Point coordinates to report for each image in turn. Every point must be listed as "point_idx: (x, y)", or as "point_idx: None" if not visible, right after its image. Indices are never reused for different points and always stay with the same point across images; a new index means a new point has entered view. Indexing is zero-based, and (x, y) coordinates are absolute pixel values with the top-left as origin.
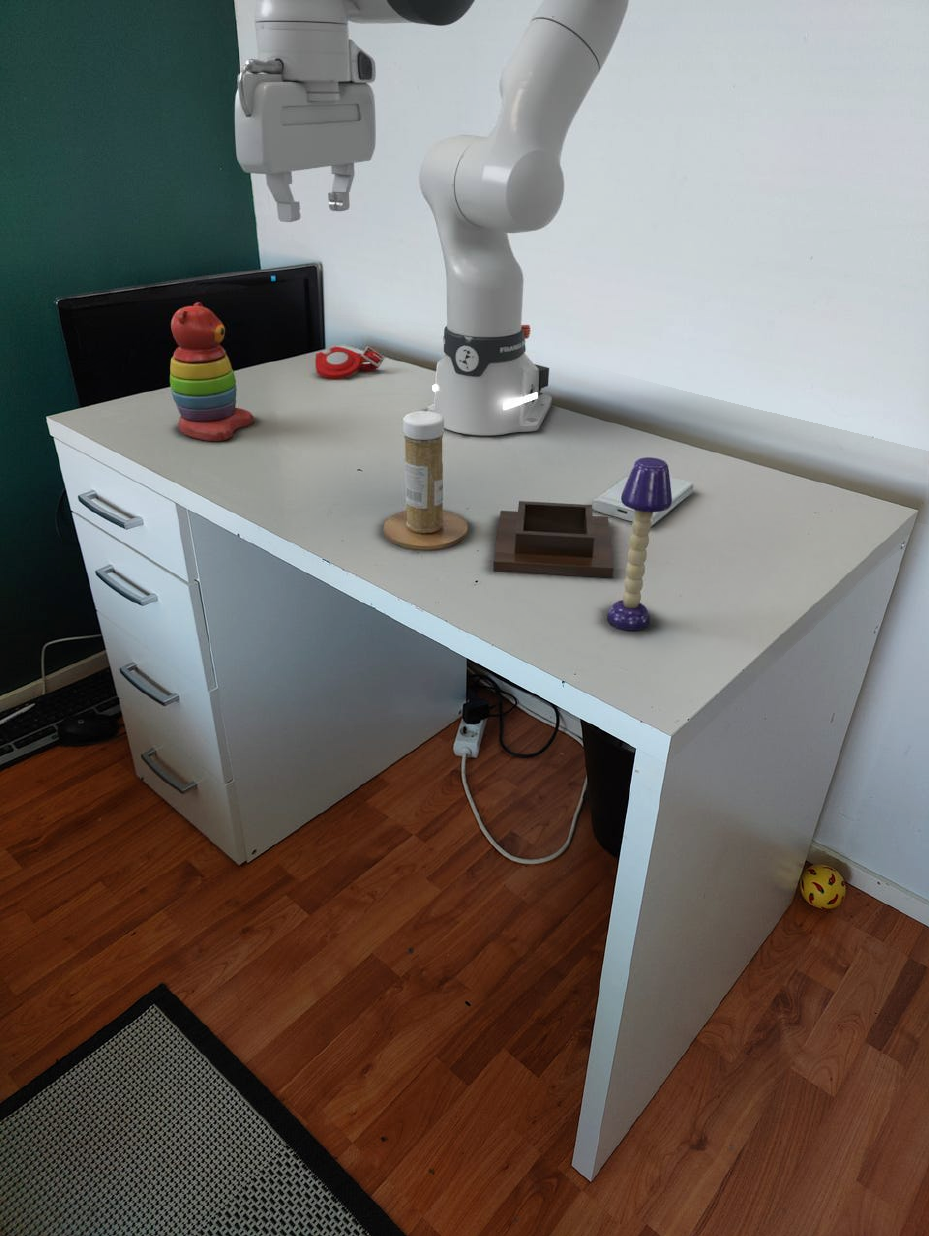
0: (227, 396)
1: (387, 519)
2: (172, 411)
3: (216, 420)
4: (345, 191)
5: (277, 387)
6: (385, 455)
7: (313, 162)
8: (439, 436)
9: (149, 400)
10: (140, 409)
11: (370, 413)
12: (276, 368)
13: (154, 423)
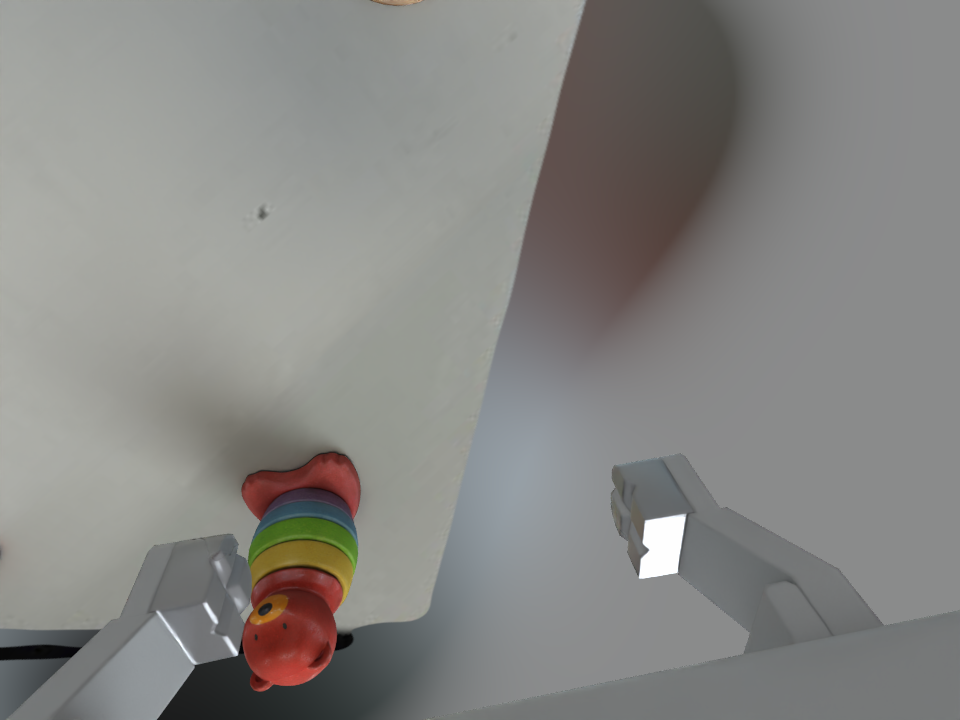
0: (297, 509)
1: (413, 3)
2: None
3: (322, 489)
4: (152, 621)
5: (107, 554)
6: (170, 219)
7: (634, 711)
8: None
9: None
10: None
11: (39, 378)
12: (47, 611)
13: None
